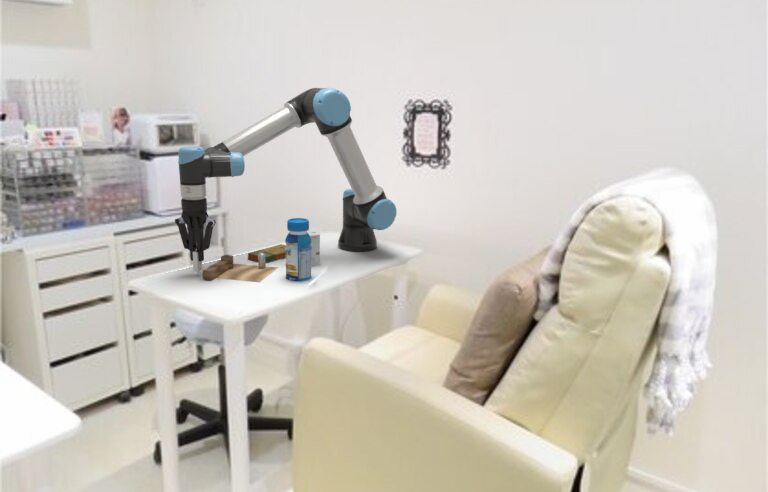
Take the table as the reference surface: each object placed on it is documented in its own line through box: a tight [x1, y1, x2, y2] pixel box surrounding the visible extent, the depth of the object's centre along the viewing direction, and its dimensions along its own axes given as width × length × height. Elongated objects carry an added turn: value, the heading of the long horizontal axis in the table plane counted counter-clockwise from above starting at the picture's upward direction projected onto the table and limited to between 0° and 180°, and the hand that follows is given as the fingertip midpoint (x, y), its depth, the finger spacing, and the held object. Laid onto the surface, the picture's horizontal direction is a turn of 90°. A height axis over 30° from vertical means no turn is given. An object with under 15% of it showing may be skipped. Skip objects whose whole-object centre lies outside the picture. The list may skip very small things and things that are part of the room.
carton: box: [247, 243, 286, 264], centre depth 209 cm, size 8×16×4 cm, turn 142°
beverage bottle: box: [284, 217, 313, 282], centre depth 186 cm, size 8×8×20 cm
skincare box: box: [308, 231, 321, 268], centre depth 201 cm, size 6×4×12 cm
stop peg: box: [257, 253, 267, 269], centre depth 196 cm, size 2×2×5 cm
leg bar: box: [202, 253, 235, 281], centre depth 190 cm, size 16×4×4 cm, turn 169°
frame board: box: [214, 263, 279, 283], centre depth 192 cm, size 18×16×1 cm
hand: (198, 270), depth 187 cm, fingers closed
